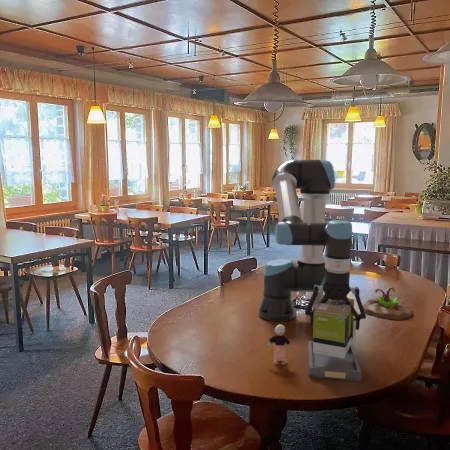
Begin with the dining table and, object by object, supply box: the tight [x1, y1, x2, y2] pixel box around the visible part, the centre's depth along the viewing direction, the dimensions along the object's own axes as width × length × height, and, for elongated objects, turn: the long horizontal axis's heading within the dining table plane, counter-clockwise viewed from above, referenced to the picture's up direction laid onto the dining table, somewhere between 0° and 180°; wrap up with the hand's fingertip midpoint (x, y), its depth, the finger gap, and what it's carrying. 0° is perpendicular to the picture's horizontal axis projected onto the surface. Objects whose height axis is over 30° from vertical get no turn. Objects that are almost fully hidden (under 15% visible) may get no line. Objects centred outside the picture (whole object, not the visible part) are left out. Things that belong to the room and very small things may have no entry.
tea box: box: [312, 297, 355, 358], centre depth 141 cm, size 15×10×15 cm, turn 154°
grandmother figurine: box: [266, 323, 293, 366], centre depth 143 cm, size 8×4×13 cm, turn 88°
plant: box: [362, 287, 413, 321], centre depth 194 cm, size 20×20×11 cm
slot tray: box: [307, 340, 362, 382], centre depth 143 cm, size 15×20×3 cm
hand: (333, 337), depth 142 cm, fingers closed on tea box, 11 cm apart
